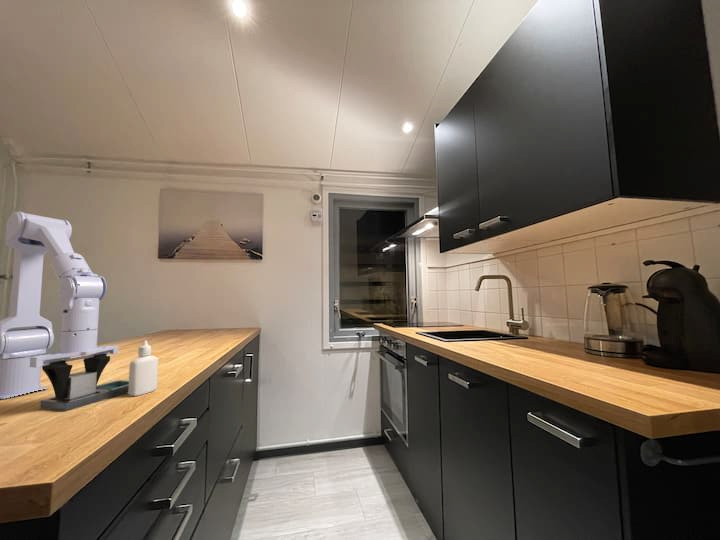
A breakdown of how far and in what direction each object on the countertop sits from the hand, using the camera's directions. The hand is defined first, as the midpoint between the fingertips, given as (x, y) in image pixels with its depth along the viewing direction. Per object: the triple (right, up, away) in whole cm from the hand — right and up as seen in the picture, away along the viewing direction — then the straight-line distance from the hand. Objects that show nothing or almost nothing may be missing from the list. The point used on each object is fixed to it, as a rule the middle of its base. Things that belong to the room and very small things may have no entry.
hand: (76, 394), depth 62 cm
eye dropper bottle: (+10, -2, +6) cm, 12 cm away
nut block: (0, -2, 0) cm, 2 cm away
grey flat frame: (+1, -2, +3) cm, 4 cm away
